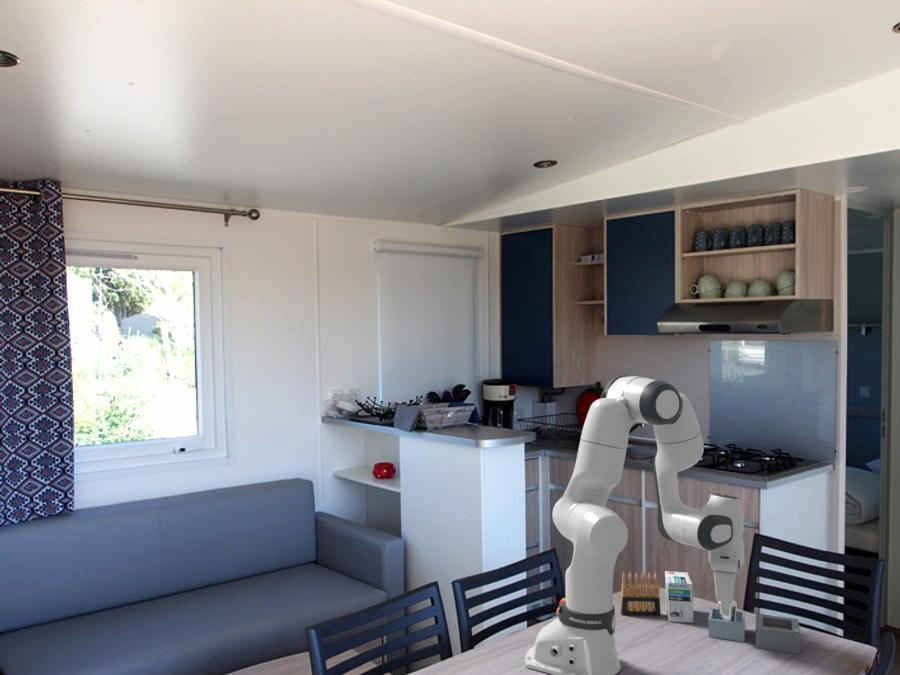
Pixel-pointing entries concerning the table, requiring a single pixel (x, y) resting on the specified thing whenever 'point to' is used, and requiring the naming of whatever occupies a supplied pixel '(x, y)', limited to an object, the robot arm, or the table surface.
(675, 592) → the light bulb box
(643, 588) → the ammunition clip
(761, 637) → the square frame
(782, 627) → the plain tan rectangular plate
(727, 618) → the milkshake
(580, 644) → the robot arm
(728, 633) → the bin
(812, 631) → the table surface
